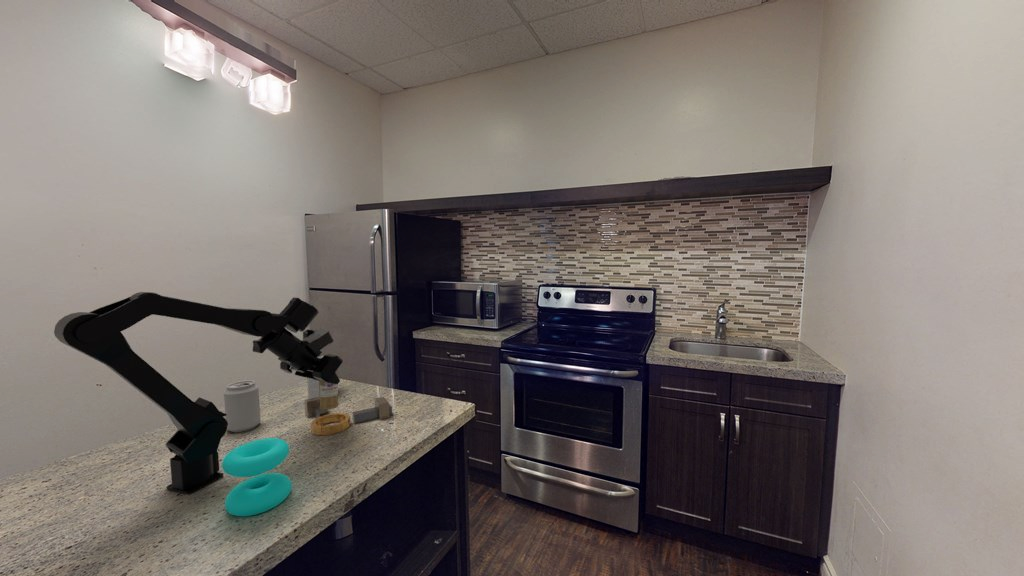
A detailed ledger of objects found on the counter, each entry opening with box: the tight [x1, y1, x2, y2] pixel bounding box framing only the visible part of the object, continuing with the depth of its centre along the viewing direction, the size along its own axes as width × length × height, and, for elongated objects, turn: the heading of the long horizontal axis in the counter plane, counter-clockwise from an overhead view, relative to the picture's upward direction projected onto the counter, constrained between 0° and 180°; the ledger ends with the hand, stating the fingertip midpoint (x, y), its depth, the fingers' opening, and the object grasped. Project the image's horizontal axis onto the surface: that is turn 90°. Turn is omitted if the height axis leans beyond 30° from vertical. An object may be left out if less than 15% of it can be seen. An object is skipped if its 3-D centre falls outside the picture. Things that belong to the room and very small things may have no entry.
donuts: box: [221, 437, 293, 517], centre depth 68 cm, size 10×10×10 cm
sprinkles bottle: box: [318, 355, 340, 411], centre depth 98 cm, size 5×5×14 cm
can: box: [223, 379, 262, 433], centre depth 100 cm, size 8×8×12 cm
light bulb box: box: [306, 378, 319, 399], centre depth 123 cm, size 11×7×11 cm, turn 17°
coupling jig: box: [304, 396, 393, 436], centre depth 103 cm, size 17×25×4 cm
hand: (333, 381), depth 99 cm, fingers closed on sprinkles bottle, 4 cm apart
